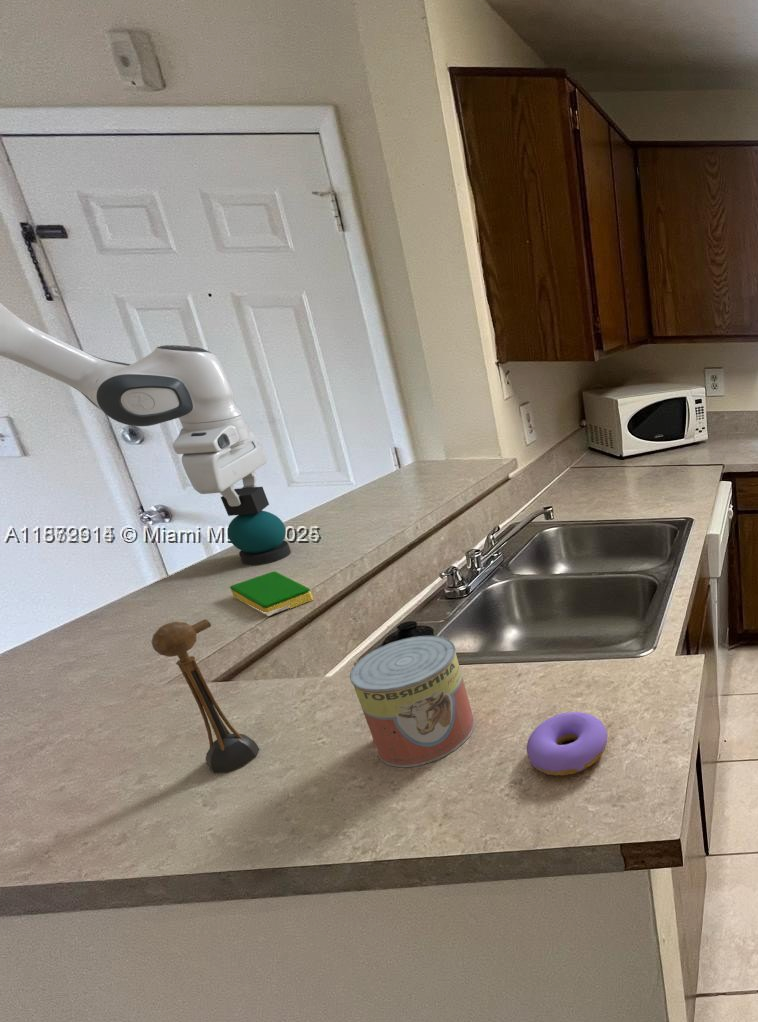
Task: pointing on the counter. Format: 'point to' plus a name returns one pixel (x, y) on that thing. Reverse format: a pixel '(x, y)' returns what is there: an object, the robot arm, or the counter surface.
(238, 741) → the wooden tabletop sculpture
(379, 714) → the canned food
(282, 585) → the dish sponge
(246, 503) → the block
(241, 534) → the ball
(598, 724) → the donut
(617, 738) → the counter surface
